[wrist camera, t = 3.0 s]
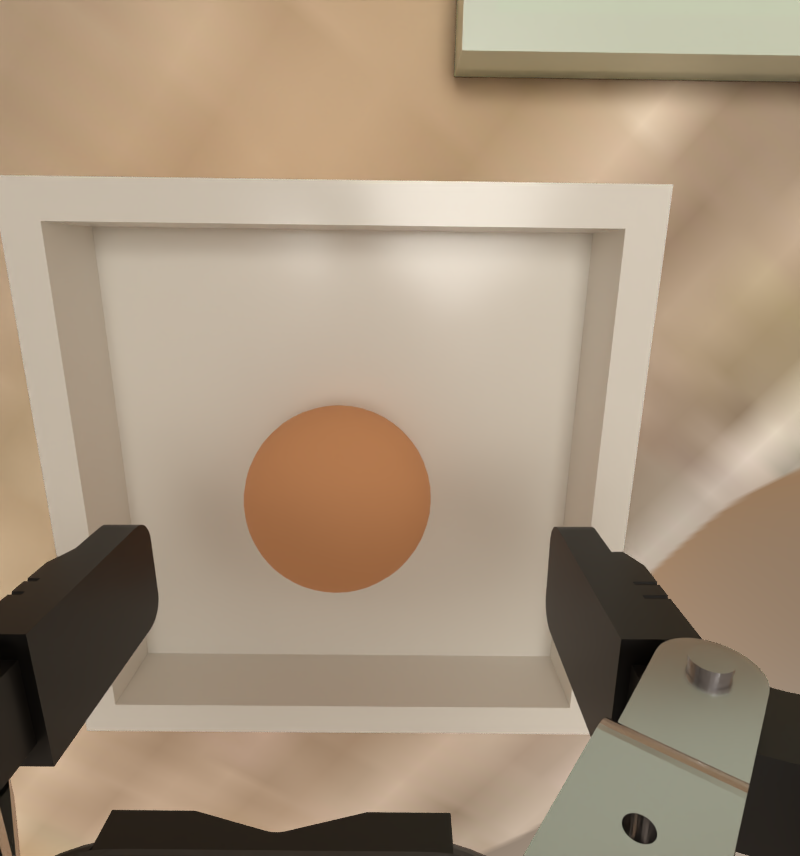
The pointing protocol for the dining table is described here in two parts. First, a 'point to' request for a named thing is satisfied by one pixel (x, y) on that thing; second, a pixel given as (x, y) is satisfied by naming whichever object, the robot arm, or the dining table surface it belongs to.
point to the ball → (337, 499)
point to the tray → (629, 39)
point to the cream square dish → (329, 386)
